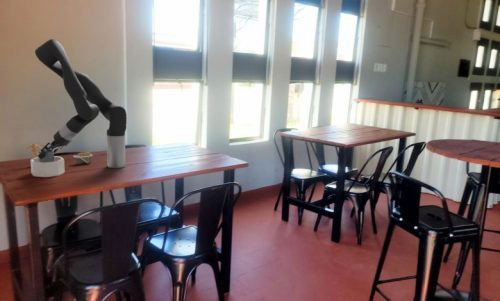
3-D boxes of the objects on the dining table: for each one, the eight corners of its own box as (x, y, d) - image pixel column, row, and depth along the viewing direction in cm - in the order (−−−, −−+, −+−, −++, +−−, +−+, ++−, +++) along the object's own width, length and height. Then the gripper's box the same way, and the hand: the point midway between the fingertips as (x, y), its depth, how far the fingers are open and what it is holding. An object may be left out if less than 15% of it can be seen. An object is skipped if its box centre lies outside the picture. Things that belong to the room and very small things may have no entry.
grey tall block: (45, 169, 190) (44, 149, 188) (54, 170, 190) (53, 150, 188) (40, 171, 186) (39, 151, 184) (49, 172, 185) (48, 152, 183)
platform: (104, 164, 212) (104, 153, 211) (70, 168, 200) (70, 156, 199) (96, 160, 221) (95, 149, 219) (63, 164, 209) (62, 152, 207)
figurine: (27, 168, 196) (26, 145, 193) (25, 165, 200) (24, 142, 198) (45, 166, 201) (44, 143, 198) (43, 163, 205) (41, 141, 203)
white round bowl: (43, 168, 196) (42, 155, 194) (69, 170, 195) (68, 157, 193) (25, 175, 182) (24, 161, 181) (53, 177, 181) (52, 163, 180)
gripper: (69, 126, 190) (48, 147, 193) (51, 130, 176) (29, 153, 179) (79, 137, 191) (58, 158, 194) (63, 142, 177) (41, 164, 180)
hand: (45, 155), depth 187 cm, fingers open, 8 cm apart
